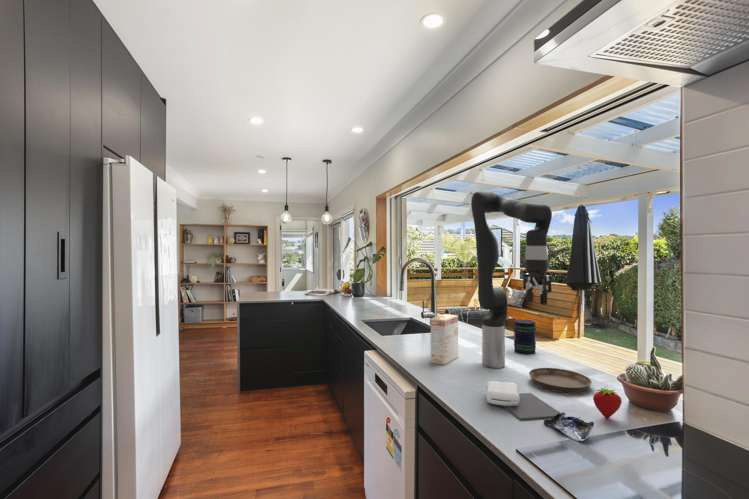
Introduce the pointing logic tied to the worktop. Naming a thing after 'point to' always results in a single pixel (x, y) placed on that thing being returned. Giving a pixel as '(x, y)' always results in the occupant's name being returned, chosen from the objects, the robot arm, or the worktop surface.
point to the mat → (532, 408)
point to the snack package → (570, 425)
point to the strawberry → (607, 402)
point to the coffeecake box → (444, 338)
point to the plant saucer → (560, 380)
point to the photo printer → (502, 393)
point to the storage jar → (524, 337)
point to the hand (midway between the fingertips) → (536, 302)
